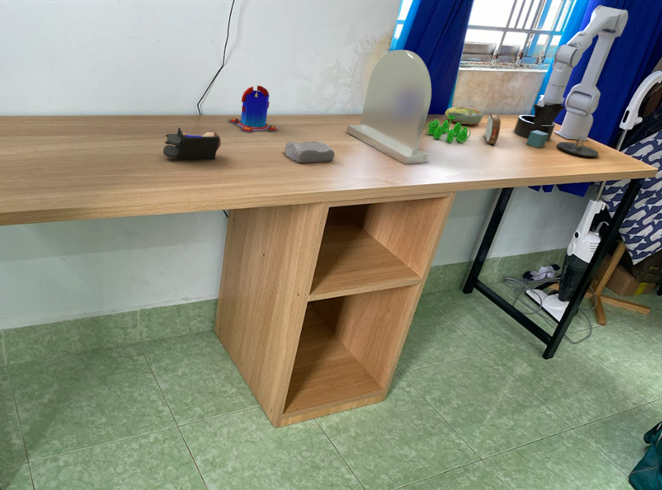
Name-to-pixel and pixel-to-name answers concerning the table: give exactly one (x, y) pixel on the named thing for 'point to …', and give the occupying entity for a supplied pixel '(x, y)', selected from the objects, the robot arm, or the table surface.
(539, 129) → the black round container
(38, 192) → the table surface
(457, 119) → the cell model
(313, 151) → the stone block
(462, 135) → the green bumpy cluster
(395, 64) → the award
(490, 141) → the tin
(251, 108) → the fantasy tower
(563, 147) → the lid
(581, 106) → the robot arm
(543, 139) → the block
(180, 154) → the character figurine
